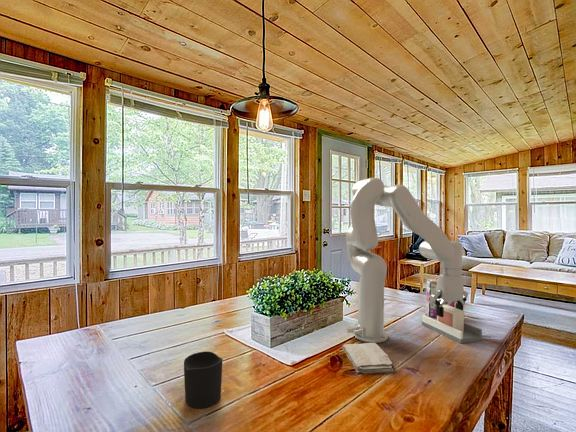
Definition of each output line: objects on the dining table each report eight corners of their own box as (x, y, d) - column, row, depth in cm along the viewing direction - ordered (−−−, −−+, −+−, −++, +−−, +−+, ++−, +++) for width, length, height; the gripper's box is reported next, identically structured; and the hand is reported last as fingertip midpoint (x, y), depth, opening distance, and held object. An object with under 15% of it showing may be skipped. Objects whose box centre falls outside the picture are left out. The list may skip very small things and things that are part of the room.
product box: (436, 325, 133) (436, 305, 132) (446, 323, 134) (446, 304, 134) (453, 333, 124) (454, 312, 124) (464, 331, 126) (464, 311, 125)
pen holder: (224, 388, 87) (225, 351, 87) (218, 409, 78) (218, 368, 77) (189, 388, 87) (189, 351, 87) (178, 410, 77) (178, 368, 77)
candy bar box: (429, 317, 147) (429, 281, 146) (425, 313, 152) (426, 278, 151) (455, 318, 146) (455, 281, 145) (450, 314, 151) (451, 279, 150)
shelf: (421, 324, 137) (422, 315, 137) (440, 322, 140) (441, 313, 140) (460, 343, 118) (460, 332, 118) (481, 340, 121) (481, 329, 121)
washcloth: (357, 376, 95) (357, 365, 95) (340, 350, 113) (340, 341, 113) (396, 374, 96) (396, 363, 96) (373, 348, 114) (373, 339, 114)
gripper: (460, 269, 135) (459, 310, 135) (426, 271, 130) (425, 314, 130) (475, 273, 128) (474, 316, 128) (440, 274, 122) (439, 320, 123)
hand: (449, 315), depth 129 cm, fingers open, 9 cm apart
